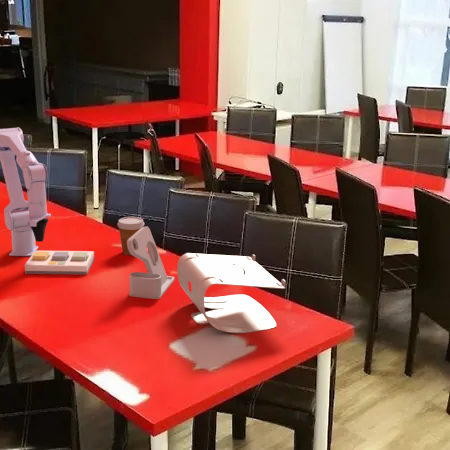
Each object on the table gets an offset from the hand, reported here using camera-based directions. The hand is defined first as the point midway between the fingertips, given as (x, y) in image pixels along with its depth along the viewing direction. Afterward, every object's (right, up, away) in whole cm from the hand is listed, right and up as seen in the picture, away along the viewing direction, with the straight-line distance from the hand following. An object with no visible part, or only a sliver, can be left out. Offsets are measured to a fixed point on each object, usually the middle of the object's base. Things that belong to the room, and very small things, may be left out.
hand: (39, 240), depth 214 cm
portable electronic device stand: (+63, -20, -30) cm, 72 cm away
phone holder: (+39, -14, -12) cm, 43 cm away
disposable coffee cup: (+28, -5, +18) cm, 33 cm away
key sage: (+13, -6, +2) cm, 15 cm away
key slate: (+6, -6, +2) cm, 9 cm away
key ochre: (0, -6, +2) cm, 7 cm away
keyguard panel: (+6, -9, +3) cm, 11 cm away
